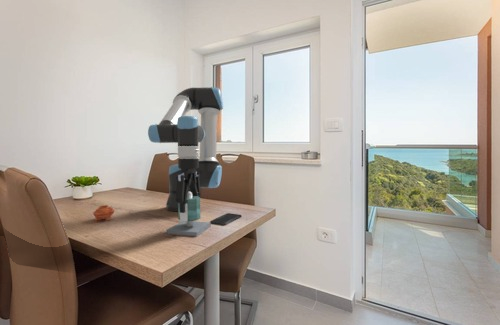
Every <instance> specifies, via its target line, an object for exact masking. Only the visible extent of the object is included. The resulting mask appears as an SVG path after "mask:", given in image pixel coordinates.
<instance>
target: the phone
mask: <svg viewBox="0 0 500 325" xmlns="http://www.w3.org/2000/svg"><path fill="white" fill-rule="evenodd" d="M241 218H243V217H242V214H238V213H232V212H228V213H224V214H222V215H220V216H218V217H216V218H213V219H211V220H209V222H211V224H212V225H216V226H227V225H229V224H231V223H233V222H235V221H237V220H238V219H241Z"/></svg>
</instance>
